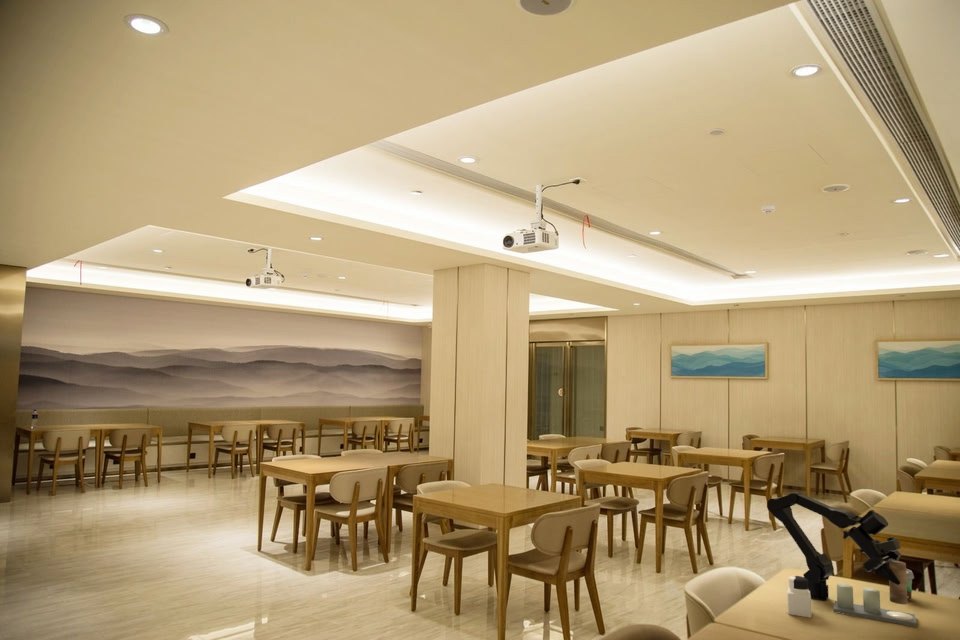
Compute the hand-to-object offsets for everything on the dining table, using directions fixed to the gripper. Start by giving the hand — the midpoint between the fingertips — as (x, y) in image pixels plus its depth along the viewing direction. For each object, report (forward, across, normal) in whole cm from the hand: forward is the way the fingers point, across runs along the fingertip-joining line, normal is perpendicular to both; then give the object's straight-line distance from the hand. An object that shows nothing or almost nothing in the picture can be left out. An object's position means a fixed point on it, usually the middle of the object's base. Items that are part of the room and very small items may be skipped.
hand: (902, 582), depth 215 cm
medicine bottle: (-8, -23, +26) cm, 35 cm away
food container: (+2, +29, +16) cm, 33 cm away
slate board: (+3, -3, +15) cm, 15 cm away
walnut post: (+4, 0, +6) cm, 7 cm away
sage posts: (-1, -4, +17) cm, 17 cm away
